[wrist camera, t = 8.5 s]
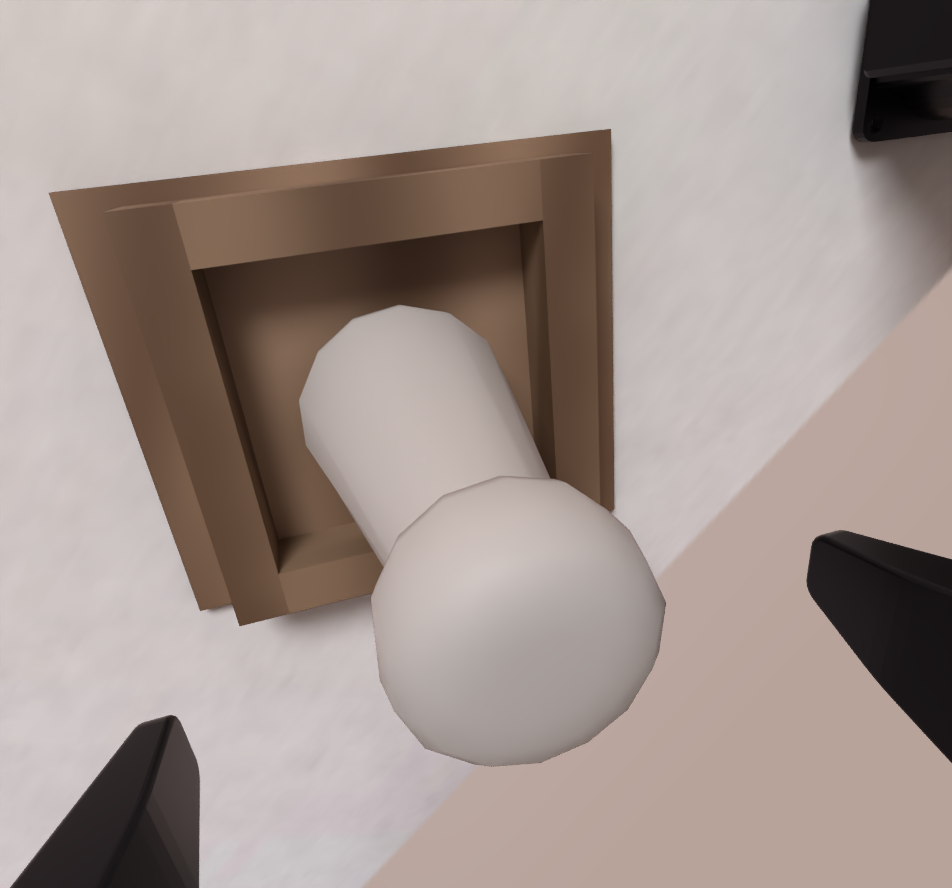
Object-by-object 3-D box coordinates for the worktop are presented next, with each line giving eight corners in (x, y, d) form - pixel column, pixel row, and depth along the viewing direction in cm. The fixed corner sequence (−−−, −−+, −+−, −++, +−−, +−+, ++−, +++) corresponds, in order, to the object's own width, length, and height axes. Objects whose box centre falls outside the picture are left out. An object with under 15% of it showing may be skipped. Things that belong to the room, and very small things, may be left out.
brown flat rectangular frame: (604, 130, 19) (645, 125, 17) (609, 504, 25) (640, 537, 22) (54, 192, 16) (19, 197, 14) (201, 603, 22) (193, 651, 19)
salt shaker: (439, 488, 22) (615, 849, 10) (272, 439, 20) (260, 833, 8) (512, 330, 20) (811, 551, 9) (339, 257, 18) (441, 428, 7)
